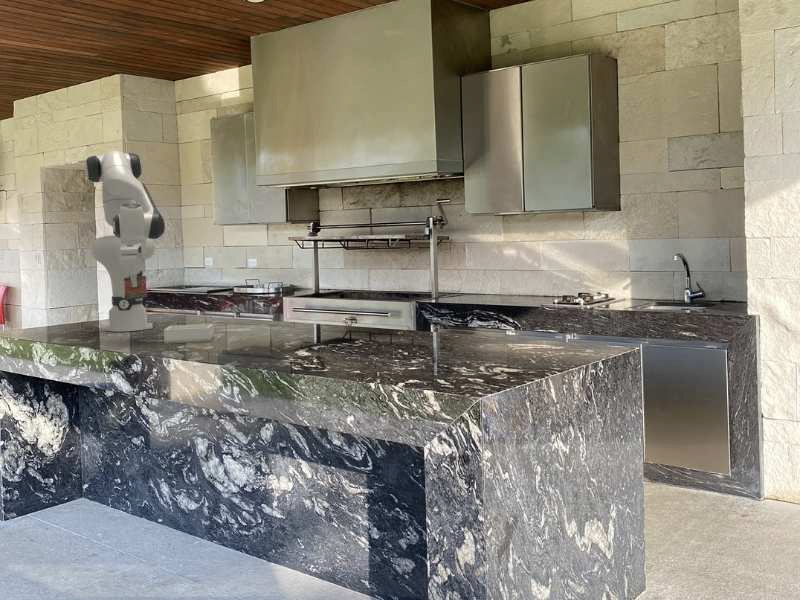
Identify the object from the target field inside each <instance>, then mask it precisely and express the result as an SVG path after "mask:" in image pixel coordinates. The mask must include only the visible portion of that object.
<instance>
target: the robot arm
mask: <svg viewBox="0 0 800 600" xmlns="http://www.w3.org/2000/svg"><path fill="white" fill-rule="evenodd" d="M83 168H84V174H85V175H86V177H87V179H88V180H89V181H90V182H93V183H99V182H100V183H102V184H101V196H102V197H101V198H102V207H103V214H104V220H105V222H106V224H108V225H109V226H110V227H112V233H113V235H104V236H100V237H97V238H95V239H94V240H93V242H92V245H91V250H90V251H91V254H92V256H93V259H94V260H95V261H97V262H98V263H100V264H101V265H102V266H103V267H104V268H105V269H106V271H107V273H108V275H109V278H110V284H111V291H112V292H111V293H112V296H111V305H112V307H111V308H110V309H109V310H108V327H106V328H104V329H105V330H104V331H105V332H107V331H108V332H119V333H121V332H122V333H123V332H135V331H143V330H152V329H153V328H154V327H153V326H154V325H153V322H149V317H147V316H148V315H147V309H146V308H145V306H144V305H143V298H138V299H125V297H124V296H125V285H124V278H126V277H129V276H130V278H131V282H132V287H137V274H139V276H140V271H143V273H145V272H146V268H147V266H146V260H147V259H150V258H152V257H153V255H154V254H155V251H156V250H155V249H156V245H155V242H154V240H158V239H159V238H160V237H161V236H163V234H164V233H165V230H166V225H165V224H166V223H165V220H164V217H163V216H162V214H161V212H160V211H159V210H158V208H157V205H156V204H155V202H154V199H153V198H152V195H151V194H150V191H149V190H148V187H147V186H146V185H145V183H143V182H142V181H140V180H138V179H140V177H141V175H142V173H143V162H142V160H141V158H140V156H139V155H138V154H137V153H132V152H128V153H124V152H122V151H121V150H120V151H119V150H110V151H107V152H106V153H104V154H101V155H97V156H96V155H91V156H89V157H87V158H86V159H85V162H84V167H83ZM132 201H134V202H132ZM135 202H136V203H135Z"/></svg>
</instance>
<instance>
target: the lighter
mask: <svg viewBox="0 0 800 600" xmlns="http://www.w3.org/2000/svg"><path fill="white" fill-rule="evenodd" d="M143 274H144V272H143V271H140V276H139V274H137V287H132V282H131V278H130V276H129V277H126V278H124V285H125V296H124V297H125V299H138V298H147V297H148V294H147V276H146V275H143Z"/></svg>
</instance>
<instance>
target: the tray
mask: <svg viewBox="0 0 800 600" xmlns="http://www.w3.org/2000/svg"><path fill="white" fill-rule="evenodd" d="M214 330H215V329H214V323H204V324H202V323H201V324H185V325H184V324H183V325H181V324H179V325H178V324H177V325H168V326H167V327H166V328H164V329H163V334H164V335H163V336H164V337H163V339H164V340H163V341H164V345H165V344H167V345H168V344H184V343H185V344H186V343H187V344H188V343H189V344H190V343H206V342H207V343H209V342H211V341H212V340H213V339H214V338H215V331H214Z"/></svg>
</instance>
